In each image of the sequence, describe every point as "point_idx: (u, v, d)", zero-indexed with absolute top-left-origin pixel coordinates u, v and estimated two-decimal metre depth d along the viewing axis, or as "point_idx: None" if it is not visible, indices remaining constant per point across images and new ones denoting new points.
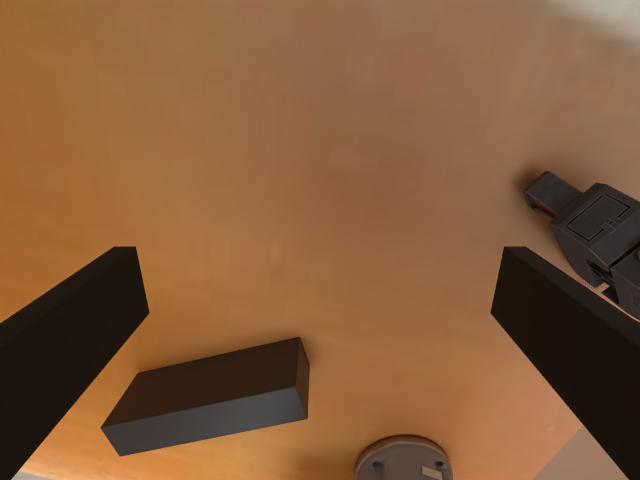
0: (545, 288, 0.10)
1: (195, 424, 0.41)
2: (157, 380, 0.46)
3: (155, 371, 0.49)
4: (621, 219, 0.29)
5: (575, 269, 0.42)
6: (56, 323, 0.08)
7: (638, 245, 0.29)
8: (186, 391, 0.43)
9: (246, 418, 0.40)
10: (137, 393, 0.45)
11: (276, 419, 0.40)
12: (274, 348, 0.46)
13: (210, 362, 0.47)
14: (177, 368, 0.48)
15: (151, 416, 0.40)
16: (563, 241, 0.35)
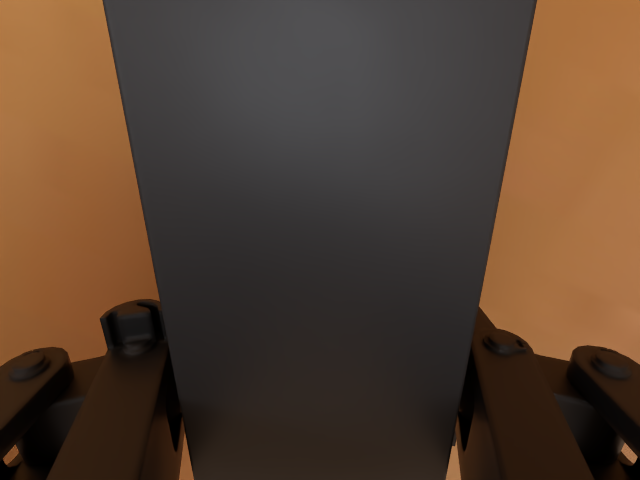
0: None
1: None
2: None
3: None
4: None
5: None
6: None
7: None
8: None
9: (277, 254, 0.05)
10: None
11: (230, 425, 0.06)
12: None
13: None
14: None
15: None
16: None
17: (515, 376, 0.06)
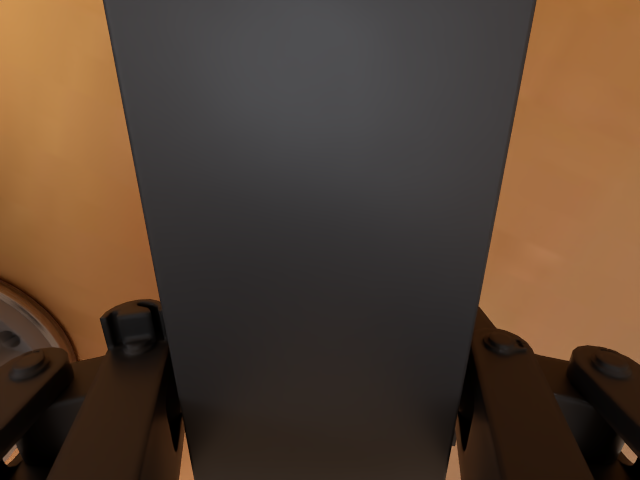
0: None
1: None
2: None
3: None
4: None
5: None
6: None
7: None
8: None
9: (277, 254, 0.05)
10: None
11: (230, 424, 0.06)
12: None
13: None
14: None
15: None
16: None
17: (515, 376, 0.06)
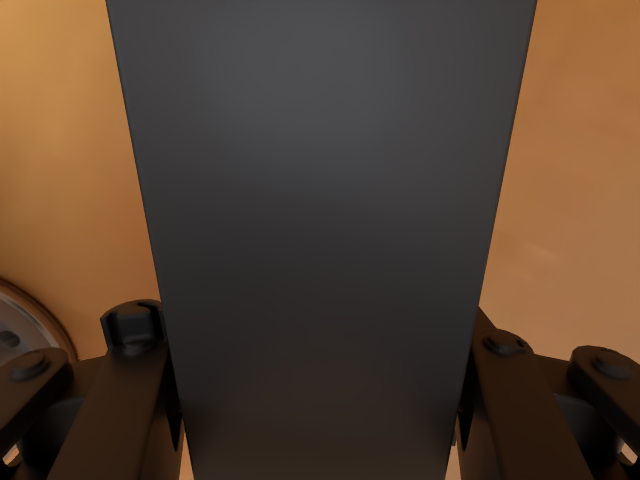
0: None
1: None
2: None
3: None
4: None
5: None
6: None
7: None
8: None
9: (278, 253, 0.05)
10: None
11: (230, 423, 0.06)
12: None
13: None
14: None
15: None
16: None
17: (515, 376, 0.06)
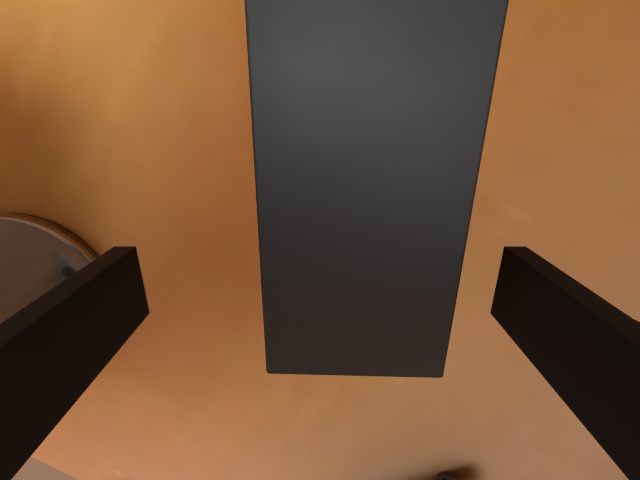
0: (545, 288, 0.10)
1: None
2: None
3: None
4: None
5: None
6: (56, 323, 0.08)
7: None
8: None
9: (340, 117, 0.07)
10: None
11: (295, 262, 0.09)
12: None
13: None
14: None
15: None
16: None
17: None
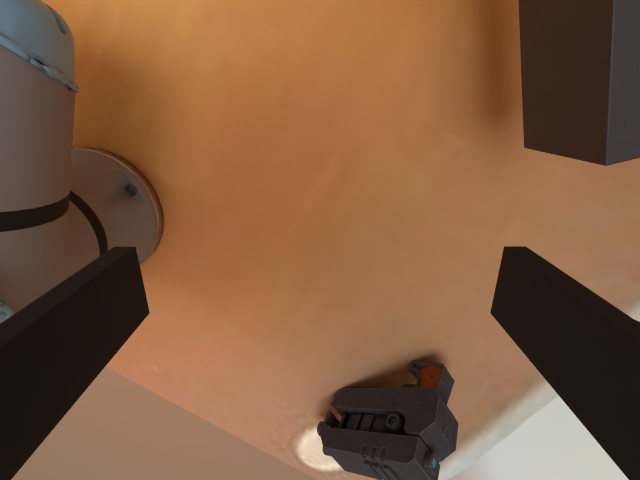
0: (545, 288, 0.10)
1: None
2: None
3: None
4: (448, 438, 0.40)
5: (348, 391, 0.50)
6: (56, 323, 0.08)
7: (428, 450, 0.39)
8: None
9: None
10: None
11: (625, 100, 0.19)
12: None
13: None
14: None
15: None
16: (409, 394, 0.43)
17: None
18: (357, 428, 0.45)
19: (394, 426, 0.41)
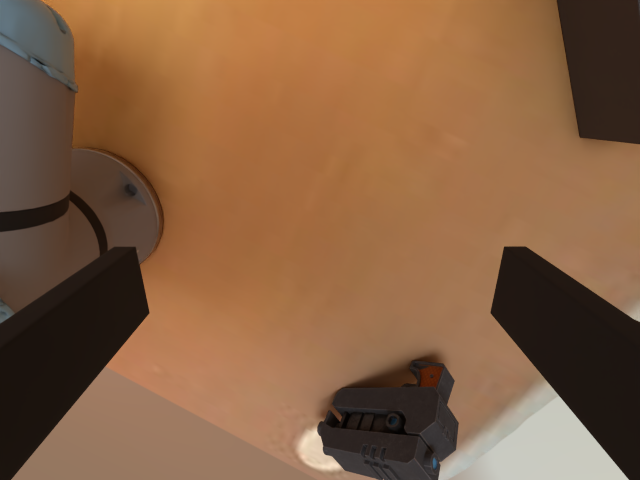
0: (545, 288, 0.10)
1: None
2: None
3: None
4: (449, 438, 0.40)
5: (349, 391, 0.50)
6: (56, 323, 0.08)
7: (428, 449, 0.39)
8: None
9: None
10: None
11: None
12: None
13: None
14: None
15: None
16: (409, 394, 0.43)
17: None
18: (357, 428, 0.45)
19: (394, 426, 0.41)
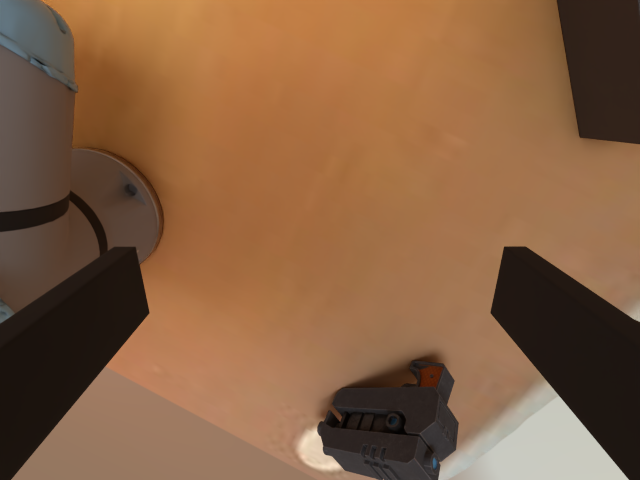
0: (545, 288, 0.10)
1: None
2: None
3: None
4: (449, 438, 0.40)
5: (349, 391, 0.50)
6: (56, 323, 0.08)
7: (428, 449, 0.39)
8: None
9: None
10: None
11: None
12: None
13: None
14: None
15: None
16: (409, 394, 0.43)
17: None
18: (357, 428, 0.45)
19: (394, 426, 0.41)
